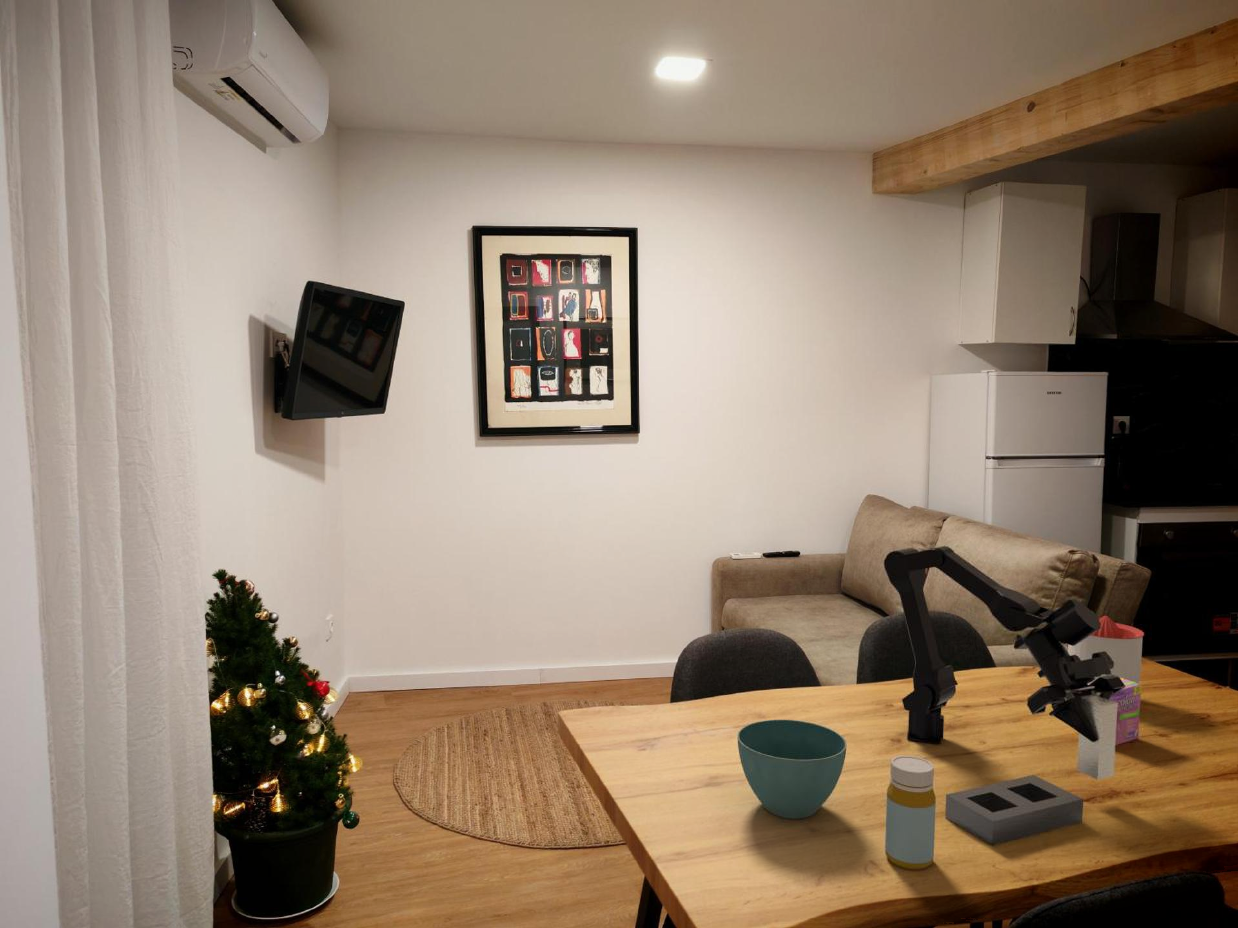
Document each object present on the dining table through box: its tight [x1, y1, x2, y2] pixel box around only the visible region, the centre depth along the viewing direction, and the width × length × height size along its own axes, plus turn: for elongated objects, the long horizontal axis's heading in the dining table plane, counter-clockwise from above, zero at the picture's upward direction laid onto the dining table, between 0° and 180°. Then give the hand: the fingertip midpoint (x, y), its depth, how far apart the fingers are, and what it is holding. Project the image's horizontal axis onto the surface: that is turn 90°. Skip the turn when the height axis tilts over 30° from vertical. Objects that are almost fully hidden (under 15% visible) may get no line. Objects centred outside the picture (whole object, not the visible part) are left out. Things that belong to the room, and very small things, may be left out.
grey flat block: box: [944, 774, 1084, 847], centre depth 145 cm, size 20×10×4 cm, turn 113°
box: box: [1088, 678, 1143, 746], centre depth 180 cm, size 10×6×12 cm, turn 117°
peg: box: [1076, 696, 1118, 780], centre depth 152 cm, size 4×4×13 cm
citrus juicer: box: [1066, 615, 1145, 693], centre depth 205 cm, size 16×17×20 cm
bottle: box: [884, 755, 937, 871], centre depth 132 cm, size 7×7×15 cm
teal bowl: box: [737, 719, 848, 820], centre depth 149 cm, size 18×18×12 cm
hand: (1104, 739), depth 151 cm, fingers closed on peg, 4 cm apart
